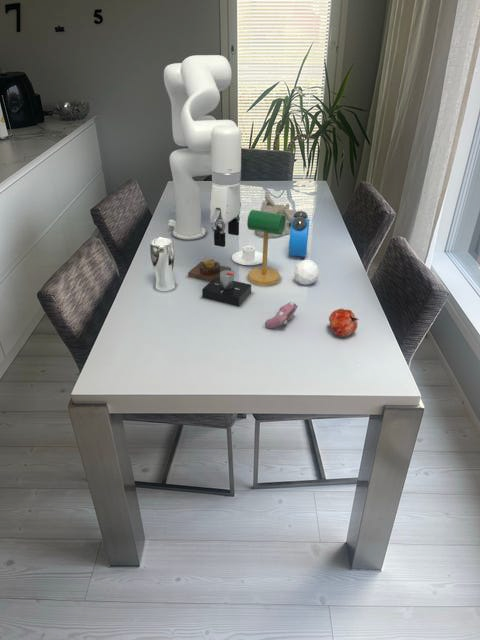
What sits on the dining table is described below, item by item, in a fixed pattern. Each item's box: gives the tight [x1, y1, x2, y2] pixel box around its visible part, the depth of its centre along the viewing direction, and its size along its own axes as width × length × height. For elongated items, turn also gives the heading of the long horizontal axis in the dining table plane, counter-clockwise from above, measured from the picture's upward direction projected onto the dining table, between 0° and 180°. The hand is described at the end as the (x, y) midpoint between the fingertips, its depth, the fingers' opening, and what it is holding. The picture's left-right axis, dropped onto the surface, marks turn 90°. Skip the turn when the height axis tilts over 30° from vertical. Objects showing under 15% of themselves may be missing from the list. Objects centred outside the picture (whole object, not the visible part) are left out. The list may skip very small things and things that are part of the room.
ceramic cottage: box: [255, 190, 297, 239], centre depth 179 cm, size 16×16×15 cm
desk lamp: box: [246, 209, 286, 287], centre depth 142 cm, size 10×10×22 cm
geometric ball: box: [293, 259, 320, 286], centre depth 144 cm, size 8×8×8 cm
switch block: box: [187, 260, 232, 283], centre depth 149 cm, size 11×9×4 cm
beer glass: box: [149, 236, 176, 292], centre depth 139 cm, size 7×7×15 cm
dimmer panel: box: [201, 277, 252, 307], centre depth 137 cm, size 12×9×3 cm
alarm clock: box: [288, 209, 310, 260], centre depth 159 cm, size 13×6×15 cm, turn 170°
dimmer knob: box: [220, 270, 235, 290], centre depth 135 cm, size 4×4×5 cm
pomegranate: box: [328, 308, 360, 338], centre depth 121 cm, size 7×7×10 cm
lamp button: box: [203, 258, 216, 268], centre depth 148 cm, size 4×4×2 cm
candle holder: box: [231, 245, 263, 266], centre depth 158 cm, size 12×12×4 cm
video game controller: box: [264, 301, 299, 329], centre depth 125 cm, size 10×5×7 cm, turn 148°
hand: (226, 239), depth 129 cm, fingers open, 8 cm apart
